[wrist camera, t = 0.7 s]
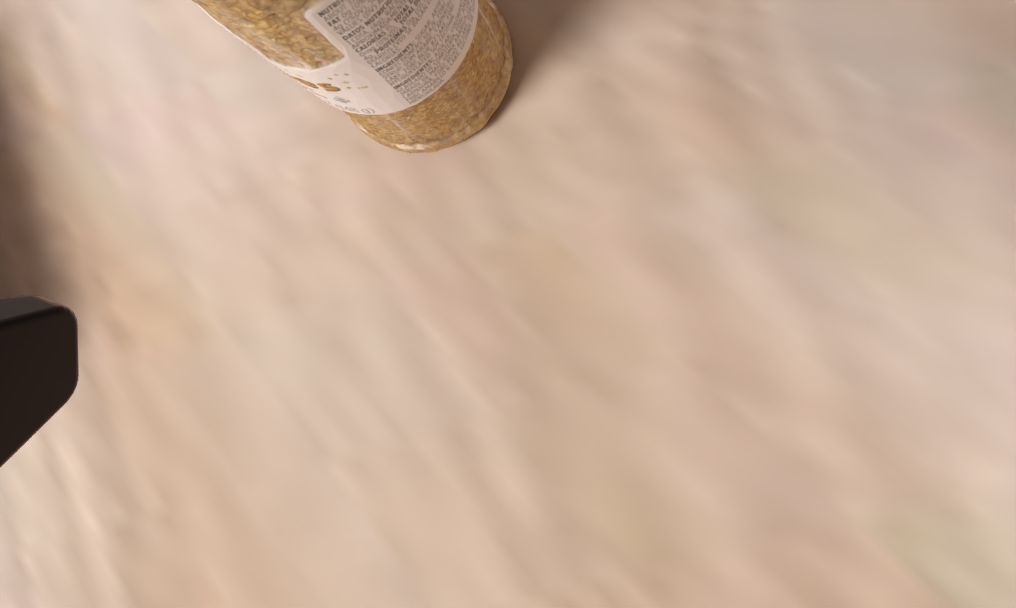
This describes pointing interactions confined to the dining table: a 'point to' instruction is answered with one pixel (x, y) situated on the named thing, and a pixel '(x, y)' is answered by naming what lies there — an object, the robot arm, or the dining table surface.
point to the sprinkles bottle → (385, 60)
